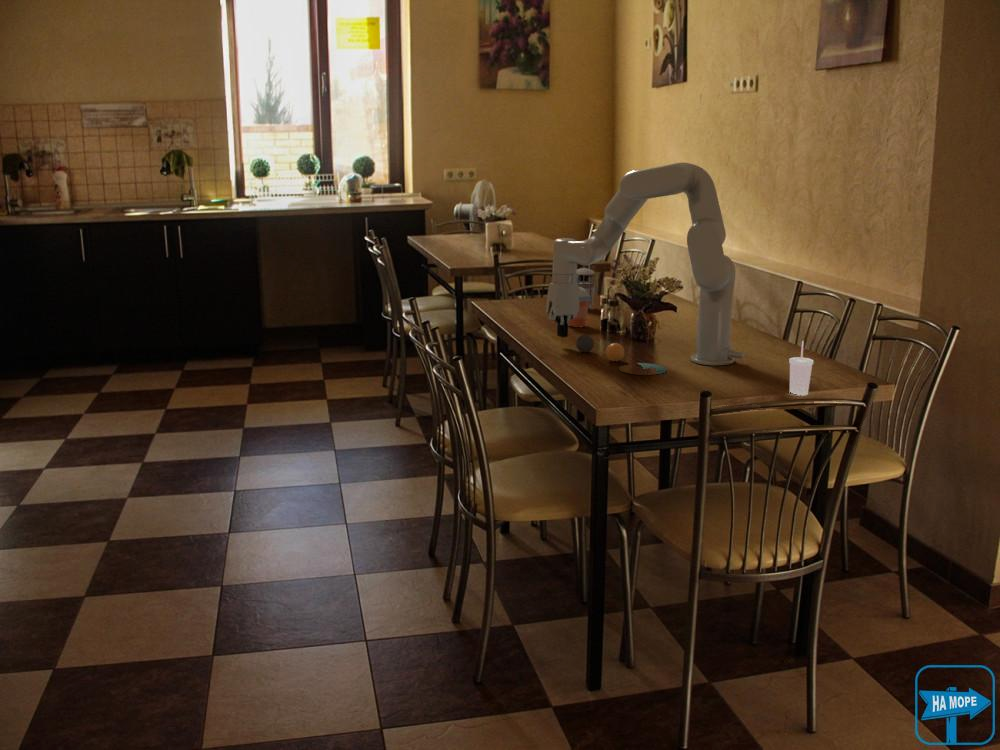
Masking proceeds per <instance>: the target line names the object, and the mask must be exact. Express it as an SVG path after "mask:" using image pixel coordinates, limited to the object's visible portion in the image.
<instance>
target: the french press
mask: <svg viewBox="0 0 1000 750" xmlns="http://www.w3.org/2000/svg"><path fill="white" fill-rule="evenodd" d="M577 274H578V275H579V276H591V275H595V271H594V270H593V269H591V268H587V267H581V268H577ZM588 280H589V281H588ZM588 280H586V281H585V277H583V280H581V281H580V280H578V287H582V288H583V289H585V290H586V291H587V293H588V295H589V296H590V300H588V308H591V307H593V306H594V302H595V301H594V299H595V296H596V295H597V293H598V290H599V285H598V281H597V279H596V278H595V277H594V276H593V277H589V278H588ZM594 280H595V282H596V285H597V286H595V282H594ZM596 287H597V288H596ZM595 288H596V289H595ZM595 290H596V293H595Z"/></svg>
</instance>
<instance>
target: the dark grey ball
mask: <svg viewBox="0 0 1000 750" xmlns="http://www.w3.org/2000/svg"><path fill="white" fill-rule="evenodd" d="M575 345H576V348H577V350H578V351H580V352H582V353H585V354H586V353H590V352H591V351H592V350H593V349H594V347H595V341H594V338H593V337H592V336H591V335H590V334H582V335H580V336H579V337H578V338H577V339H576V342H575Z"/></svg>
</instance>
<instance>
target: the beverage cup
mask: <svg viewBox="0 0 1000 750" xmlns="http://www.w3.org/2000/svg"><path fill="white" fill-rule="evenodd" d="M804 341H805V340H802V341H801V348H800V349H801V350H800V356H798V357H797V356H794V357H790V358H789V359H788V363H789V393H790V392H791V393H793V394H797V395H796V396H800V395H801V397H802V396H807V395H808V394H809V390H810V383H811V375H812V369H813V366H814V359H812V358H809V357H804V356H803V355H804V346H805V345H804V344H805V343H804ZM793 394H792V395H793Z"/></svg>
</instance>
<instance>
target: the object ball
mask: <svg viewBox="0 0 1000 750" xmlns="http://www.w3.org/2000/svg"><path fill="white" fill-rule="evenodd" d="M605 356H606V358H607V359H608V361H611V362H614V361H616V362H619V361H621V360H622V359H623V358H624V356H625V348H624V346H623V345H621V344H619V343H618V342H613V343H610V344H609V345H608V346H606V349H605Z"/></svg>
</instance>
